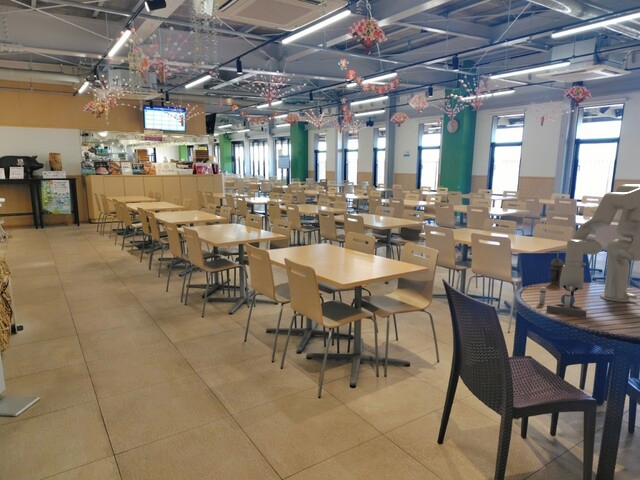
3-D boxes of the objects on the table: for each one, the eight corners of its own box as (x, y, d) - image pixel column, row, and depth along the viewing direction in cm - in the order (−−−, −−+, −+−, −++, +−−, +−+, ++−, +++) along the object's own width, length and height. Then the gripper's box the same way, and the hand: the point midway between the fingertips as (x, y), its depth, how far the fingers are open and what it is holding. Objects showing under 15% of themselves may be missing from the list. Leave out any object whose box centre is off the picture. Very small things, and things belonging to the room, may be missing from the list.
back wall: (585, 317, 197) (586, 310, 197) (585, 318, 196) (586, 312, 195) (547, 310, 207) (547, 304, 206) (546, 311, 205) (546, 305, 205)
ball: (574, 296, 209) (572, 308, 210) (576, 293, 214) (575, 305, 215) (560, 294, 213) (559, 306, 214) (562, 291, 218) (561, 302, 219)
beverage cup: (548, 284, 255) (551, 251, 252) (548, 281, 261) (551, 249, 258) (562, 286, 252) (565, 252, 249) (562, 283, 258) (565, 250, 255)
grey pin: (545, 303, 217) (546, 287, 216) (544, 304, 215) (545, 288, 214) (539, 302, 219) (541, 286, 217) (538, 304, 217) (540, 287, 215)
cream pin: (569, 307, 211) (571, 291, 210) (569, 309, 209) (570, 292, 208) (564, 306, 212) (565, 290, 211) (563, 308, 210) (565, 291, 209)
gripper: (591, 264, 216) (587, 300, 219) (558, 260, 225) (554, 294, 227) (590, 267, 210) (585, 303, 213) (555, 263, 219) (552, 297, 222)
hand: (569, 298), depth 220 cm, fingers closed
